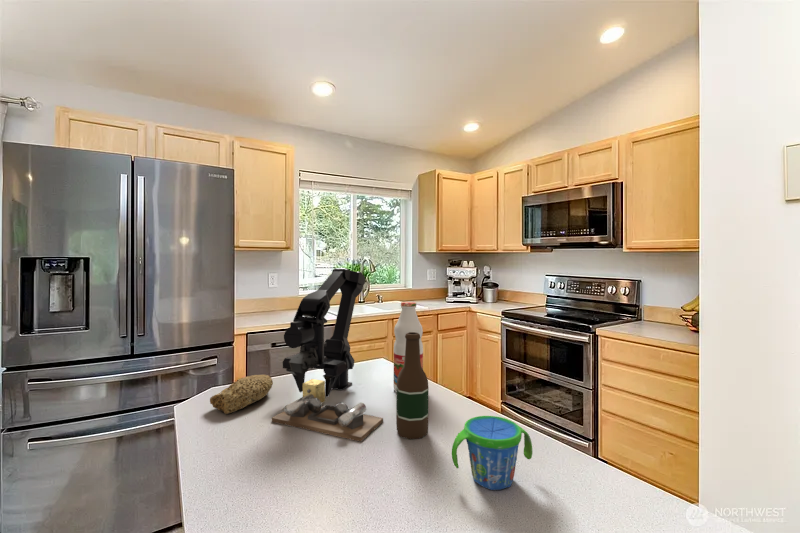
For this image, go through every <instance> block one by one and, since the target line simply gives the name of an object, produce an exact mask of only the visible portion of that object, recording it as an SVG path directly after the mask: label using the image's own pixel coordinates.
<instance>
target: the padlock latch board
mask: <svg viewBox="0 0 800 533" xmlns="http://www.w3.org/2000/svg"><path fill="white" fill-rule="evenodd" d="M334 409H335V406H333V405H329V404H327V405H326V404H325V405H324V406H322V405H321V409H320V410H319V411H318V412H316V413H313V412H311V411H310V410H309V408H308V403H307V404H305V405H304V406H302V407H300V410H299V411H297V412H296V413H294V414H292V415H290V416H288V415H287V414H286V413H285V411H281V412H280V413H278V414H276V415H274V416H273V417H271V422H272V423H277V424H281V425H285V426H290V427H293V428H298V429H303V430H307V431H311V432H317V433H321V434H325V435H330V436H334V437H338V438H343V439H347V440H353V441H356V442H362V441H364V440H365V438H367V437H369V435H370V434H371V433H373V431H374V430H376V429H377V428H378V427H379V426H380V425H382V423H384V417H380V416H376V415H375V416H374V415H370V414H366V413H365V414H364V413H363V414H361V413H360V414H359V415H358V416H356V417H355V418H354V419H353V420H352V422H351V423H350V424H348V425H347V426H346V427H342V426H340V425H339V423H338V419H339V417H337V415H336V414H335V411H334ZM350 409H351V408H349V410H350Z"/></svg>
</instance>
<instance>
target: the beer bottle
mask: <svg viewBox="0 0 800 533" xmlns="http://www.w3.org/2000/svg"><path fill="white" fill-rule="evenodd" d="M405 338H406V349H405V361H404V366H403V368H402V369H401V371H400V372H399V375H398V378H397V392H396V400H395V401H396V421H395V422H396V423H395V424H396V431H397V434H398V436H399V437H400V438H403V439H406V440H417V439H418V440H420V439H419V438H421V439H423V438H424V437H425V436H427V434H428V432H429V380H428V376H427V374H426V372H425V370H424V368H423V369H422V367H421V362H420V345H419V339H420V334H419V333H416V332H409V333H406V335H405ZM423 436H424V437H423Z"/></svg>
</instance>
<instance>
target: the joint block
mask: <svg viewBox="0 0 800 533" xmlns="http://www.w3.org/2000/svg"><path fill="white" fill-rule="evenodd" d="M307 394H312V395H313V396H314V397H315V398H318V399H319V400H320V401H321V404H323V403H324V402H325V401H326V394H325V380H321V379H314V378H311V379H308V380H307V381H304V383H303V391H302V397H304V396H306V395H307Z"/></svg>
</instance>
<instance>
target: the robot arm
mask: <svg viewBox="0 0 800 533" xmlns="http://www.w3.org/2000/svg"><path fill="white" fill-rule="evenodd" d="M365 284H366V278H365V275H364V274H363V272H361V271H355V270H352V269H350V268H347V267H336V268H333V269H332V271H331V274H329V276H328V277H327V278H326V280H324V282H323V283H322V284H321V285H320V286H319V288H318V289H317V290H315V291H313V292H311V293H307V295H305V296H304V297H303V298H302V299H301V301H300V302H299V305H298V308H297V310H296V312H295V315H294V318H293V320H292V321H290V324H289V325H290V326H289V327H288V328H286V330H285V332H284V333H283V340H284V342H285V344H286V346H287V347H289V348H291V349H296V348H300V350H299V353H296V354H293V355H290V356H286V357H284V359H283V361H282V369H285V371H286V372H288V373H290V374H291V375H292V377H293V379H294V381H295V384H296V386H297V389H298V391H299V393H303V383H305V378H306V373H307V372H308V371H309V369H319V370H323V373H324V374H323V375H322V377H323V378H324V381H325V398H328V397H329V396H330V395H331V392H332V389H333V390H340V391H343V390H345V389H347V388H348V387H350V386H352V385H353V382H351V381H349V370H353V368H354V366H355V361H356V360H355V358H354V357H353V355H352V354H351V346H350V343H349V340H348V337H349V334H350V333H349V332H350V328H351V324H352V317H353V314H354V313H353V312H354V309H355V304H356V298H357V297H358V296H359V295H360V294H361V293H362V292H363V288H364V285H365ZM339 290H340V293H341V297H340V300H339V306H338V309H337V314H336V320H335V324H334V328H333V332H332V333H333V334H332V336H331V337H330V338H326V339H325V324H327V323H328V320H327V319H326V317H325V316H326V315H327V313H328V312H329V311H330V309H331V303H330V302H331V300H332V299H333V297H335V295H336V294H337V293H338V291H339Z"/></svg>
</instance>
